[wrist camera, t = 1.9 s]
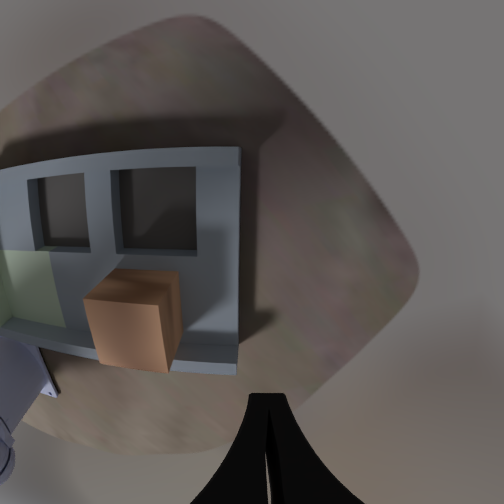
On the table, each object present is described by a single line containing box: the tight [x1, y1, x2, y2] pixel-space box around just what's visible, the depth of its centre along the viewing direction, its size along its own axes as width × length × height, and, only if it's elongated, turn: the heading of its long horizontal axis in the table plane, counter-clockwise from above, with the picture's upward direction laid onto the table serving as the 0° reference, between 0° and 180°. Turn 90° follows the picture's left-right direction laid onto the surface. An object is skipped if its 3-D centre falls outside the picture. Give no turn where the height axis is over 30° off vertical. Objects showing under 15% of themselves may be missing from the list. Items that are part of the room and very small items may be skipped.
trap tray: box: [0, 147, 241, 375], centre depth 18 cm, size 22×14×4 cm, turn 89°
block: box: [83, 268, 184, 373], centre depth 17 cm, size 4×4×4 cm
